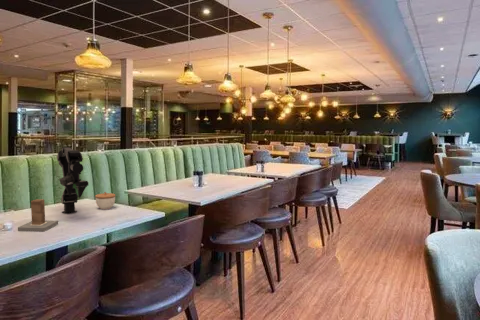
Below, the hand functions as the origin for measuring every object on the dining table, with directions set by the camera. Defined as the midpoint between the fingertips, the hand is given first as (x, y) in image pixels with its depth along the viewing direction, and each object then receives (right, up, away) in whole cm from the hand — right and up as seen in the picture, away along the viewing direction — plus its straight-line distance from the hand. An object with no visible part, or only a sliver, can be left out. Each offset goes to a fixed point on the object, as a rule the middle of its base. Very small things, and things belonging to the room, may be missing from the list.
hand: (74, 196), depth 212 cm
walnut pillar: (-10, -13, -20) cm, 26 cm away
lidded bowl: (+9, -11, +26) cm, 29 cm away
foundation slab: (-10, -15, -20) cm, 27 cm away
